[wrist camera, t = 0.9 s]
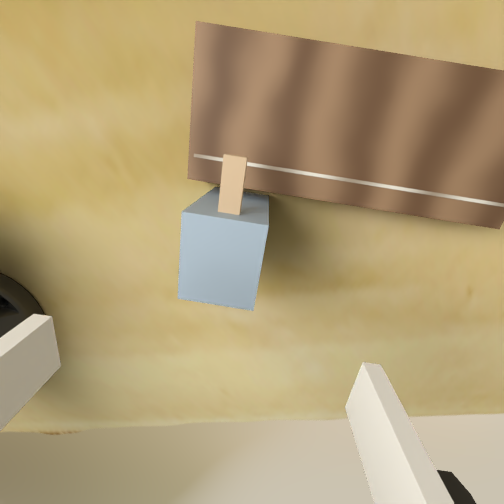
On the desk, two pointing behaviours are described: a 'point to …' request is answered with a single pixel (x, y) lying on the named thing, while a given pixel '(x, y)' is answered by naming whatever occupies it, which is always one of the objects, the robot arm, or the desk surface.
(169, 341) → the desk surface
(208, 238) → the pale blue block
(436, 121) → the plank
